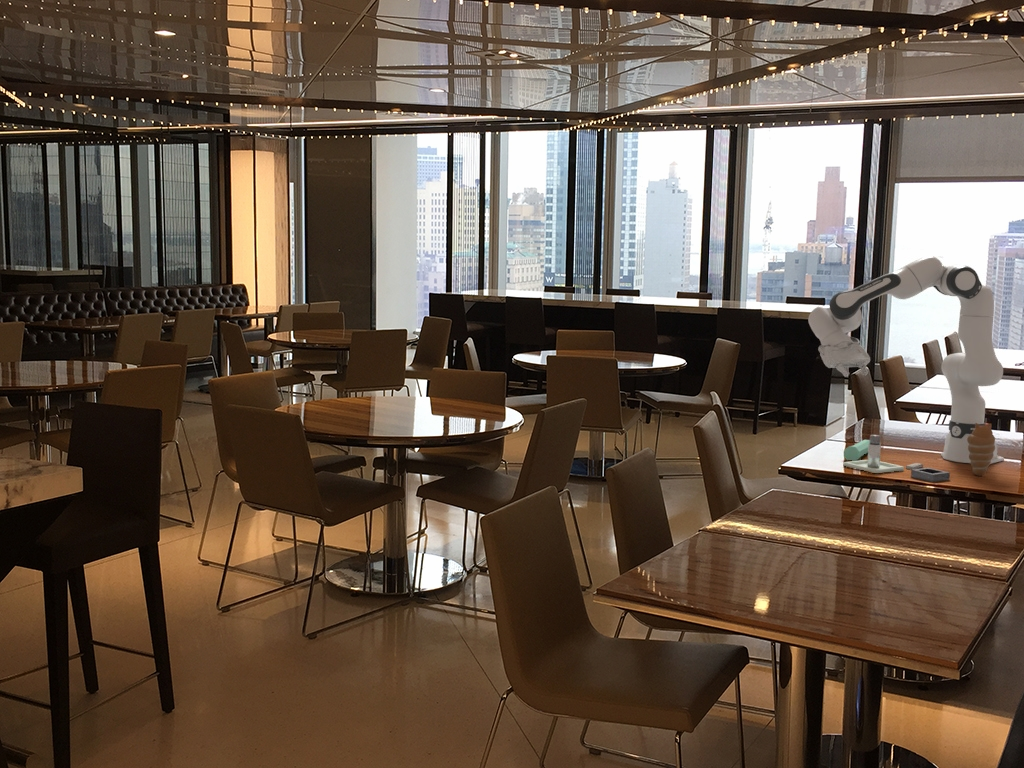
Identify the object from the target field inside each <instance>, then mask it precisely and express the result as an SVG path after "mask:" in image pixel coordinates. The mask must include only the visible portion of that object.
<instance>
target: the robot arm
mask: <svg viewBox="0 0 1024 768" xmlns="http://www.w3.org/2000/svg"><path fill="white" fill-rule="evenodd" d="M931 287H933V288H934V289H935V290H937V292H939V293H940V294H942V295H943V296H950V297H957V298H958V300H959V304H960V308H959V309H960V310H959V321H958V327H957V328H958V330H957V337H958V339H959V341H960V342H961V343H962V345H963V349H964V352H955V353H950V354H948V355H946V357H944V358H943V360H942V363H941V366H940V367H941V373H942V374H943V376H944V377H945V378H946V381H947V383H948V387H949V391H950V395H951V396H950V397H951V410H950V411H951V412H950V420H949V421H948V430H949V431H948V433H947V434H946V436H945V441H944V447H943V451H942V452H940V453H941V454H940V456H941V457H942V458H943V459H944V460H946V461H950V462H956V463H964V464H971V460H970V459H969V454H970V452H969V450H968V445H969V443H968V441H967V438H968V436H969V435H971V434H972V432H973V430H974V429H975V423H977V424H979V425H985V426H986V425H987V424H988V423H985V416H986V415H985V414H986V401H985V399H984V397H983V396H982V395H981V393H980V387H990V386H995V385H996V384H998V383H1000V381H1001V380H1002V378H1003V375H1004V368H1003V367H1004V366H1003V364H1002V363H1001V362H1000V361H999V359H998V358H997V355H996V352H995V349H994V344H993V327H994V326H993V325H994V316H995V315H994V313H995V312H994V311H995V303H994V301H995V299H994V295H993V291H992V288H990V287H988V286H987V285H983V284H982V282H981V280H980V278H979V275H978V273H977V271H975V270H974V268H972V267H971V266H969V265H960V264H954V265H943V263H942V262H941V260H940V259H939V258H938V257H936V256H933V255H927V256H924V257H921V258H919V259H916V260H914V261H912V262H910V263H908V264H907V265H905V266H903V267H900V268H899V269H897V270H895V271H893V272H890V273H889V272H888V273H886V274H883V275H881V276H879V277H877V278H874V279H872V280H869V281H867V282H866V283H865V282H864V283H863V284H861V285H859V286H857V287H854V288H852V289H846V290H842V291H838V292H836V293H835V294H834V295H833V296H832V297H831V299H830V301H829V306H824V305H819V306H817V307H816V308H814V309H813V310H811V312H810V313H809V315H808V324H809V327H810V329H811V331H812V332H813V334H814V335H815V337H816V338H817V339H819V341H820V345H819V346H818V349H817V350H818V352H819V353H820V354H819V355H820V357H821V360H822V362H823V364H824V365H825V367H827V368H828V369H831V368H833V369H836V370H837V371H838V372H840V373H841V374H842V375H843V377H848V376H850V371H849V369H846V368H856V367H857V368H858V369H860V374H861V375H862V376H867V375H868V374H869V371H868V370H867V365H868V364H869V363H870V362H871V357H870V355H869V353H868V352H867V351H866V349H865V348H864V346H862V345H861V344H860V343H861V342H860V340H859V338H856V337H853V336H851V335H848V333H852V332H853V331H855V330H857V329H859V327H860V326H861V324H862V322H863V315H862V310H861V308H862V306H863V305H864V304H866V303H868V302H871V301H873V300H874V299H877V298H878V297H881V296H883V295H891V296H892V297H893V298H895V299H898V300H907V299H910V298H913V297H915V296H916V295H919V294H921V293H922V292H924V291H925V290H927V289H929V288H931ZM994 445H995V450H994V452H993V458H992V459H991V463H990V465H992V464H995V463H998V462H1003V461H1005V458H1004V457H1003V456H1000V455H998V443H996V442H995V443H994Z"/></svg>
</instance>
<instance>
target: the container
mask: <svg viewBox="0 0 1024 768" xmlns="http://www.w3.org/2000/svg"><path fill="white" fill-rule="evenodd" d="M869 443H870V439H863V440H861V441H858V442H857V443H855V444H854V445H853V444H852V445H848V446H847V447H846V448H845V449H844V450H843V457H844V458H845V460H846V461H848V460H852V461H859V460H860V458H861V457H864V456H865V455H866V454H868V446H869ZM864 454H865V455H864Z"/></svg>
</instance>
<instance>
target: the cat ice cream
mask: <svg viewBox="0 0 1024 768" xmlns="http://www.w3.org/2000/svg"><path fill="white" fill-rule="evenodd" d="M967 441H968V443H969V445H968V450H969V452H970V454H969V459H970V460H971V463H970V466H971V468H972V473H973V474H974V475H976V476H978V477H981V476H985V475H986V473H987V472H988V467H989V466H990V465H991V464H992V463H991V459H992V458H993V452H994V450H995V445H994V443H996V438H995V435H994V434H993V430H992V423H987V425H986V426H985V425H979V424H977V423H975V429H974V430H973V432H972V434H971V435H969V436H968V438H967ZM990 463H991V464H990Z"/></svg>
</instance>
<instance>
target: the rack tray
mask: <svg viewBox="0 0 1024 768" xmlns="http://www.w3.org/2000/svg"><path fill="white" fill-rule="evenodd" d="M842 462H843V463H842V467H843V466H846V467H845V468H847V467H850V468H849V469H851V468H856V469H860V470H864V471H869V472H873V473H882V472H891V473H895V472H894V471H899V472H904V470H905V466H904V465H903V466H902V465H900V464H895V463H894V464H893V463H890V462H885V461H881V460H880V468H869V467H867V462H868V459H862V460H861V459H858V460H856V461H842ZM860 470H859V471H860ZM864 471H863V472H864Z"/></svg>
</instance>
